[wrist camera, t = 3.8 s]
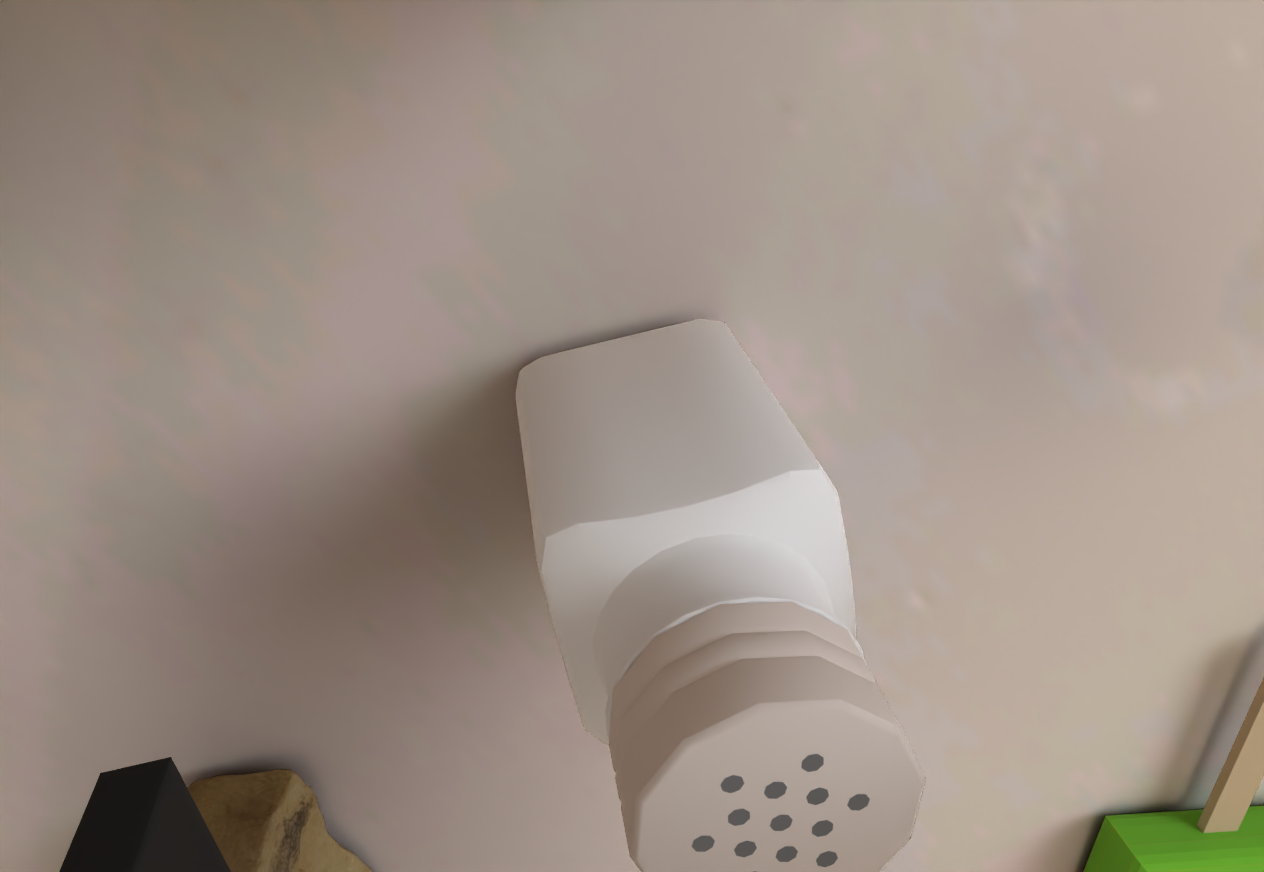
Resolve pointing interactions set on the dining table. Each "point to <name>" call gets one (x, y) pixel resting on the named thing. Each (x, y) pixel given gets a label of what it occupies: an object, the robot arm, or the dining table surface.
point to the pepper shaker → (709, 610)
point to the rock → (270, 824)
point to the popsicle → (1197, 821)
